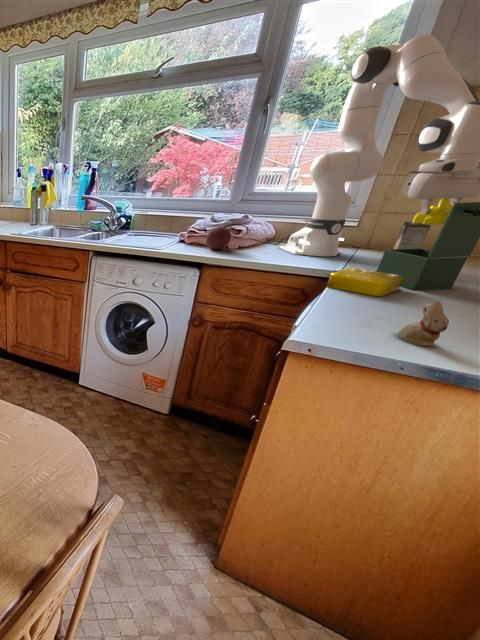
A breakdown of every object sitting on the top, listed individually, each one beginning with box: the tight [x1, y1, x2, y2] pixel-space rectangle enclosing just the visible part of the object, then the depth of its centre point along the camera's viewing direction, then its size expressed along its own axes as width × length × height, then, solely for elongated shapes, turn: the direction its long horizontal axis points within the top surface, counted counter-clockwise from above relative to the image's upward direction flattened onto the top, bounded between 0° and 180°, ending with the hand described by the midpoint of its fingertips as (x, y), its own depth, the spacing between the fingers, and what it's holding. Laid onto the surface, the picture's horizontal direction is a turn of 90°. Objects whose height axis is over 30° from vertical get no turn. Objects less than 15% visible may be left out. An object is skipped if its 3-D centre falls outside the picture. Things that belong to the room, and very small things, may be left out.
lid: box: [428, 201, 480, 257], centre depth 126 cm, size 16×13×5 cm
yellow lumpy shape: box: [412, 198, 453, 226], centre depth 135 cm, size 6×8×8 cm
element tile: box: [326, 267, 403, 297], centre depth 139 cm, size 15×15×5 cm
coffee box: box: [393, 221, 432, 249], centre depth 156 cm, size 9×6×16 cm
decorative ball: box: [205, 226, 232, 251], centre depth 197 cm, size 10×10×10 cm
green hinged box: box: [376, 247, 468, 291], centre depth 141 cm, size 15×13×10 cm
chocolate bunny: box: [397, 300, 450, 348], centre depth 100 cm, size 6×8×10 cm
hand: (435, 214), depth 135 cm, fingers closed on yellow lumpy shape, 5 cm apart
